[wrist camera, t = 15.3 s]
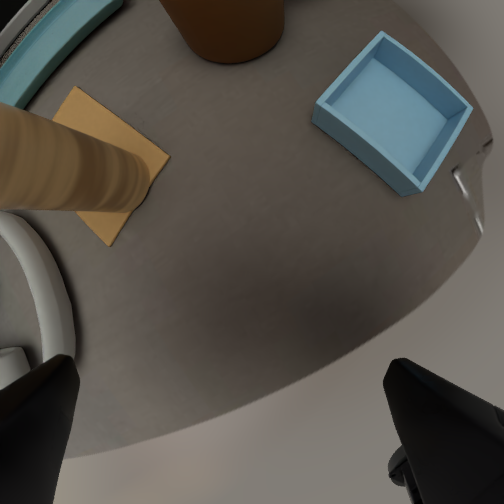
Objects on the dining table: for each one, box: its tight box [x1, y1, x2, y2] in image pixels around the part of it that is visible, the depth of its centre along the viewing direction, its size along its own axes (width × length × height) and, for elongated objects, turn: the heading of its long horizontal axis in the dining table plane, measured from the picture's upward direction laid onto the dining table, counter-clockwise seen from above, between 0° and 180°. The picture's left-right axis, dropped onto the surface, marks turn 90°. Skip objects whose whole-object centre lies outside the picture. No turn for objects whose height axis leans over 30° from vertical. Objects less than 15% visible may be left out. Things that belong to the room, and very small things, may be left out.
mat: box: [52, 86, 171, 247], centre depth 20 cm, size 13×8×1 cm, turn 51°
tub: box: [311, 31, 473, 197], centre depth 16 cm, size 8×8×3 cm
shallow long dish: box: [0, 0, 123, 110], centre depth 19 cm, size 26×9×2 cm, turn 128°
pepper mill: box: [0, 102, 150, 213], centre depth 11 cm, size 4×4×18 cm
